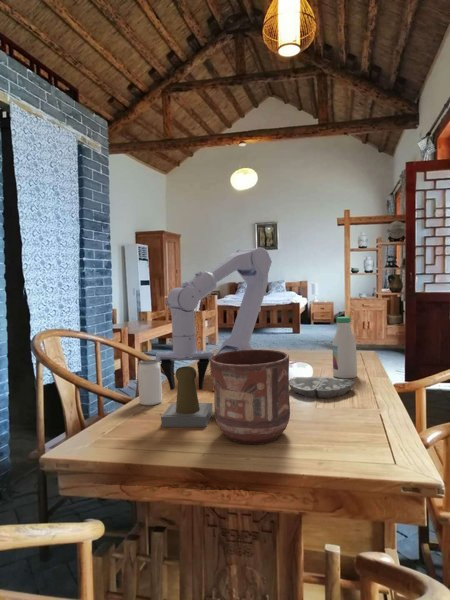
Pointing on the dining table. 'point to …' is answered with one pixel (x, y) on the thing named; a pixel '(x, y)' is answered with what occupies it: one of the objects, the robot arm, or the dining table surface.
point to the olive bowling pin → (186, 391)
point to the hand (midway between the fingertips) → (186, 388)
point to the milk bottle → (344, 350)
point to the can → (149, 382)
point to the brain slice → (320, 386)
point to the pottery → (251, 394)
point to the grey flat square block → (187, 417)
